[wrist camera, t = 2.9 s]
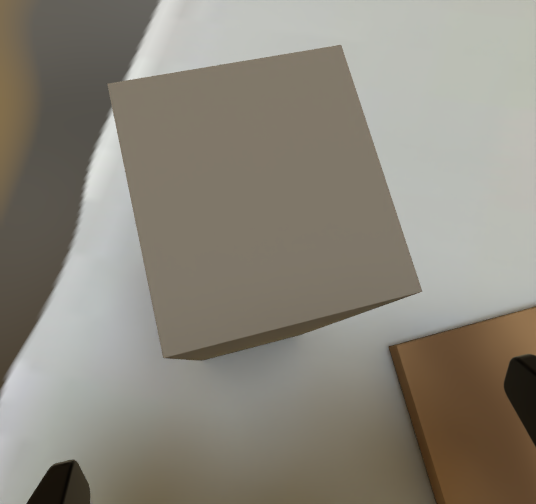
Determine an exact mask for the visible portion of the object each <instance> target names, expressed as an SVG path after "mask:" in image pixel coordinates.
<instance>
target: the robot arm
mask: <svg viewBox="0 0 536 504" xmlns="http://www.w3.org/2000/svg"><path fill="white" fill-rule="evenodd" d="M504 391H505V393H506V395H507V397H508V399H509V401H510V403H511V404H512V406H513V408H514V410H515V411H516V413H517V415H518V417H519V419H520V420H521V422H522V424H523V426H524V427H525V429H526V431H527V433H528V435H529V436H530V438H531V440H532V442H533V444H534V445H535V447H536V356H535V355H533V354H524V355H520V356H516V357H513V358H512V359H511V360H510V362H509V365H508V369H507V372H506V376H505V379H504ZM27 504H90V488H89V484H88V482H87V480H86V478H85V476H84V474H83V472H82V470H81V468H80V466H79V464H78V462H77V461H75V460H68V461H64V462H59V463H56V464H54V465H52V466H51V467H50V468H49V470H48V471H47V473H46V474H45V476H44V477H43V479H42V480H41V482H40V483H39V485H38V487H37V488H36V490H35V491H34V493H33V494H32V496H31V498H30V499H29V501H28V502H27Z"/></svg>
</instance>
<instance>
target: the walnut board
mask: <svg viewBox="0 0 536 504" xmlns="http://www.w3.org/2000/svg"><path fill="white" fill-rule="evenodd" d="M389 349H390V352H391V356H392V359H393V362H394V366H395V369H396V372H397V375H398V379H399V382H400V385H401V388H402V392H403V395H404V398H405V401H406V405H407V408H408V411H409V415H410V418H411V421H412V424H413V428H414V431H415V434H416V437H417V441H418V444H419V447H420V450H421V454H422V457H423V460H424V463H425V467H426V470H427V473H428V477H429V480H430V483H431V486H432V490H433V493H434V496H435V499H436V503H437V504H536V447H535V445H534V444H533V442H532V440H531V438H530V436H529V435H528V433H527V431H526V429H525V427H524V426H523V424H522V422H521V420H520V419H519V417H518V415H517V413H516V411H515V410H514V408H513V406H512V404H511V403H510V401H509V399H508V397H507V395H506V393H505V391H504V379H505V376H506V372H507V369H508V365H509V362H510V360H511V359H512V358H513V357H516V356H520V355H524V354H533V355H535V356H536V307H532V308H529V309H525V310H521V311H518V312H514V313H510V314H507V315H503V316H499V317H496V318H492V319H488V320H485V321H481V322H477V323H474V324H470V325H466V326H463V327H459V328H455V329H452V330H448V331H444V332H441V333H437V334H433V335H430V336H426V337H422V338H419V339H415V340H411V341H408V342H404V343H400V344H397V345H393V346H389Z"/></svg>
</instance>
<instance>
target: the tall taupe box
mask: <svg viewBox="0 0 536 504" xmlns="http://www.w3.org/2000/svg"><path fill="white" fill-rule="evenodd" d="M108 89H109V93H110V99H111V103H112V108H113V113H114V118H115V123H116V128H117V133H118V138H119V143H120V148H121V153H122V157H123V162H124V167H125V172H126V177H127V182H128V187H129V192H130V197H131V202H132V207H133V211H134V216H135V221H136V226H137V231H138V236H139V241H140V246H141V251H142V256H143V260H144V265H145V270H146V275H147V280H148V285H149V290H150V295H151V300H152V305H153V309H154V314H155V319H156V324H157V329H158V334H159V339H160V344H161V349H162V354H163V358H171V359H186V360H201V361H202V360H206V359H210V358H214V357H217V356H221V355H225V354H229V353H233V352H237V351H240V350H244V349H248V348H252V347H256V346H260V345H263V344H267V343H271V342H275V341H279V340H283V339H286V338H290V337H294V336H298V335H302V334H304V333H307V332H310V331H313V330H316V329H318V328H321V327H324V326H327V325H330V324H332V323H335V322H338V321H341V320H344V319H346V318H349V317H352V316H355V315H358V314H360V313H363V312H366V311H369V310H372V309H375V308H377V307H380V306H383V305H386V304H389V303H391V302H394V301H397V300H400V299H403V298H405V297H408V296H411V295H414V294H417V293H419V292H422V289H421V286H420V283H419V280H418V277H417V274H416V271H415V268H414V265H413V262H412V259H411V256H410V253H409V250H408V247H407V244H406V241H405V238H404V235H403V232H402V229H401V225H400V222H399V219H398V216H397V213H396V210H395V207H394V204H393V201H392V198H391V195H390V192H389V189H388V186H387V183H386V180H385V177H384V174H383V171H382V168H381V165H380V162H379V159H378V156H377V153H376V150H375V147H374V143H373V140H372V137H371V134H370V131H369V128H368V125H367V122H366V119H365V116H364V113H363V110H362V107H361V104H360V101H359V98H358V95H357V92H356V89H355V86H354V83H353V80H352V77H351V74H350V71H349V68H348V65H347V62H346V58H345V55H344V52H343V49H342V46H341V45H338V46H332V47H326V48H320V49H314V50H308V51H302V52H296V53H290V54H284V55H278V56H272V57H266V58H260V59H254V60H248V61H242V62H236V63H230V64H224V65H218V66H212V67H206V68H199V69H193V70H187V71H181V72H175V73H169V74H163V75H157V76H151V77H145V78H139V79H133V80H127V81H121V82H115V83H109V84H108Z"/></svg>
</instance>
